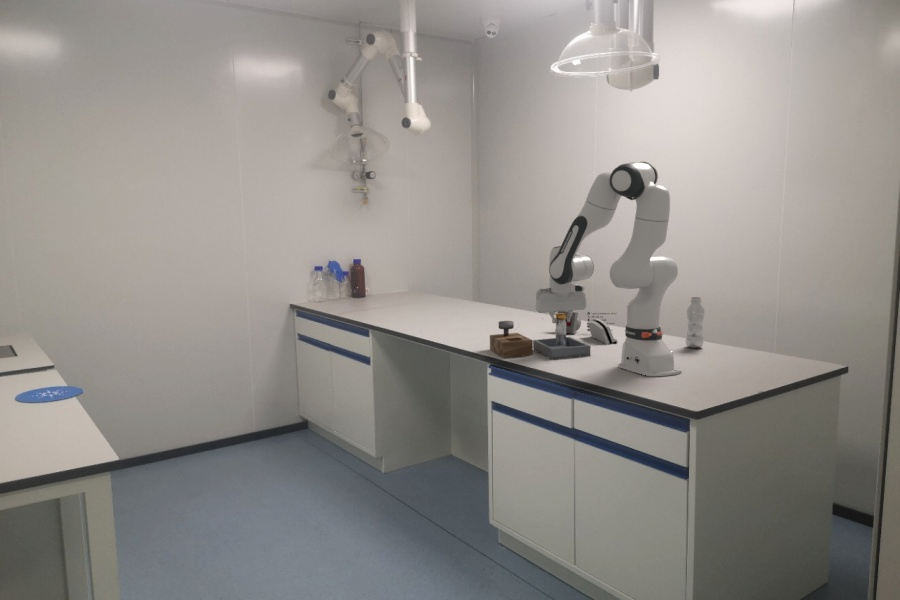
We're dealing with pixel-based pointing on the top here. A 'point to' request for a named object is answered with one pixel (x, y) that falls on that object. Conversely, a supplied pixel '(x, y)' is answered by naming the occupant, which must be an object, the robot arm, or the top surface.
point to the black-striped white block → (601, 331)
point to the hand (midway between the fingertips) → (561, 322)
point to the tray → (561, 348)
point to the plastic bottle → (695, 323)
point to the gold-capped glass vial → (561, 329)
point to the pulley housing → (510, 342)
